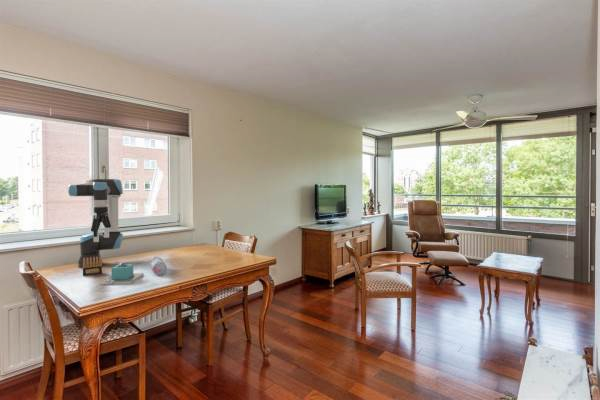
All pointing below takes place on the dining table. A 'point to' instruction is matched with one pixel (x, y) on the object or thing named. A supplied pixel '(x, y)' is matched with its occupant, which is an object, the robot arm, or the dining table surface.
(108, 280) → the post stand
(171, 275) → the dining table surface
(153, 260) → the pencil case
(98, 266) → the ammunition clip
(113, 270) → the collar
